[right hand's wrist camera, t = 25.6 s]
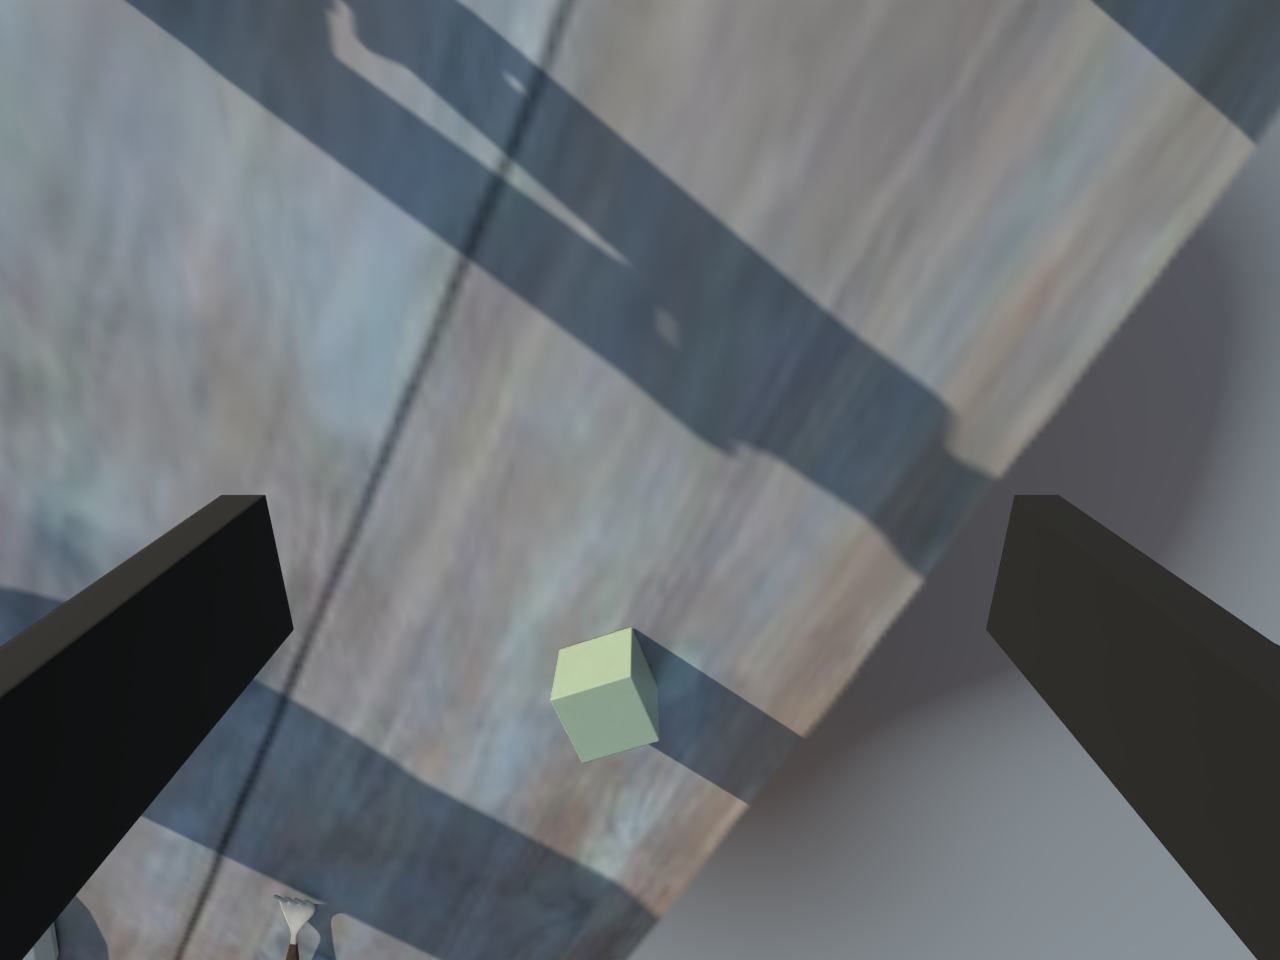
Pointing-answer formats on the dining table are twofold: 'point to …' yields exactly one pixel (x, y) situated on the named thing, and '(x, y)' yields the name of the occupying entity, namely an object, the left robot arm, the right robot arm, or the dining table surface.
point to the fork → (295, 920)
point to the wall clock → (45, 947)
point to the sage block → (606, 695)
